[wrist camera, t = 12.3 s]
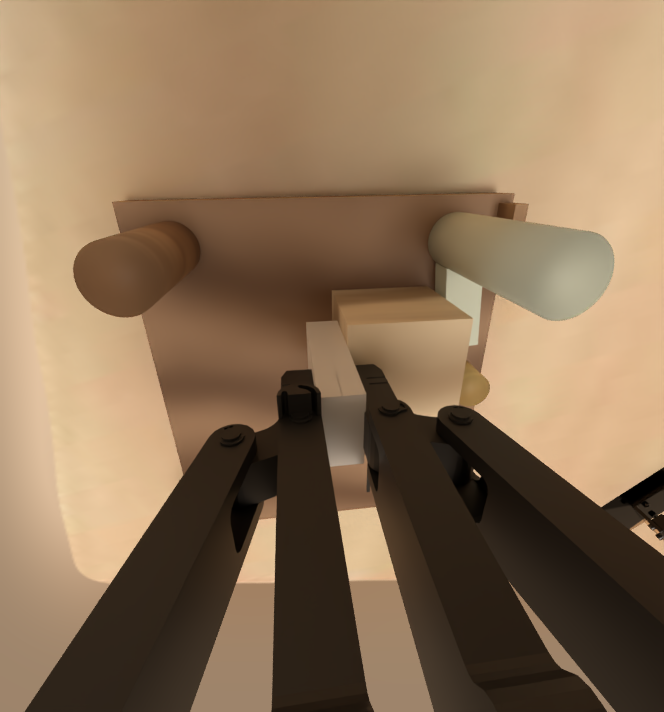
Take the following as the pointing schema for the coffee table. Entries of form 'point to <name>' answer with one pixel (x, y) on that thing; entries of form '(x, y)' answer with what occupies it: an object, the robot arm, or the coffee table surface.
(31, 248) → the coffee table surface
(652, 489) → the black bracket plate
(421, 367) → the maple block
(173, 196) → the coffee table surface
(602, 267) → the gate leg
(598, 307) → the coffee table surface
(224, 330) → the stool board
